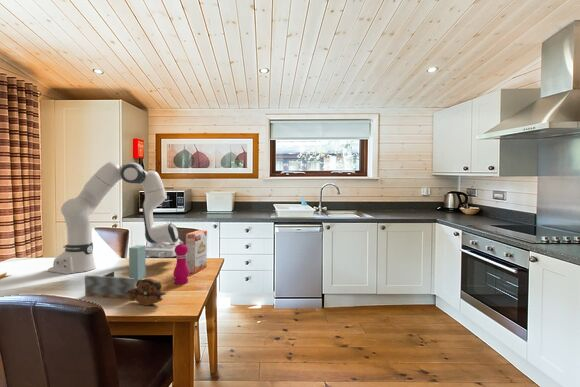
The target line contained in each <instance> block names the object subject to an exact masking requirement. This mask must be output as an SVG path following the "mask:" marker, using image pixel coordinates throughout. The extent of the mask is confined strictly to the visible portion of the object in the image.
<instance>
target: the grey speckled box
mask: <svg viewBox="0 0 580 387" xmlns="http://www.w3.org/2000/svg"><path fill="white" fill-rule="evenodd" d="M136 284H137V281H135V278H129V277H121V276H115V271H112V272H110V273H106V274H104V275H85V276H84V292H85V294H84V296H85V297H90V298H91V297H92V298H93V297H94V298H105V299H107V298H108V299H122V300H130V298H129V296H128V293H127V291H129V290H131V289H133V288H137V286H136Z"/></svg>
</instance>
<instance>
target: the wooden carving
mask: <svg viewBox="0 0 580 387" xmlns="http://www.w3.org/2000/svg"><path fill="white" fill-rule="evenodd" d="M136 286H137V288H133V289H131V290H129V291H127V293H128V296H129V298H130V299H129V301H130V302H135V301H136V302H137V303H138V304H140V305H142V306H144V305H145V306H149V305H153V304H157V303H160V302H161V301H163V300H164V299H163V298H162V296H165V295H167V293H166V292H165V291H162V283H161V281H158V280H157V279H154V278H151V277H150V278H149V277H148V278H145V279H144V278H143V279H140V280H138V281H137V284H136Z"/></svg>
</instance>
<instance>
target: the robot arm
mask: <svg viewBox="0 0 580 387" xmlns="http://www.w3.org/2000/svg"><path fill="white" fill-rule="evenodd" d="M120 180H123V181H124V182H125V183H128V184H138V185H141V187H142V189H143V193H144V200H143V201H142V204H141V205H142V215H143V223H144V237H145V240H146V241H147V242H149V243H150V244H155V245H154V246H145V257H146V256H147V257H156V258H162V259H163V258H173V257H176V255H177V254H176V253H175V247H176V246H177V245H179V242H180V241H181V239H180V238H179V237H180V236H179V235H180V234H179V233H180V232H179V228H178V227H177V226H176V225H175V224H174V223H171V222H170V223H165V224H159V225H155V219H154V214H153V213H154V210H155V208H157V207H158V206H160V205H161V204H163V203H164V202H165V200H166V198H167V192H166V189H165V185H164V183H163V181H162V178H161V176H160V174H159V173H158V171H155V170H149V171H146V170H144V167H143V166H142V164H140V163H138V162H128V163H125V164H122V165H120V164H119V163H116V162H115V161H114V162H113V161H109V162H107V163H105V164H104V165H103V166H101V167H100V168H99V169H98V170H97V171H96V172H95V173H94V174H93V175H92V176H91V178H89V180H87V182H86V183H85V184H84V187H83V188H82V190H81V191H80V193H79V194H78V195H77V196H76V197H73V198H69V199H67V200H66V201H64V202H63V204H62V205H61V207H60V211H61V215H63V217H64V222H65V226H66V230H67V244H65V245H64V246H63V247H62V248H63V249H64V248H65V249H64V251H63V252H62V253H61V254H59V255H58V256H57V257H55V258H54V260H53V264H52V267H50V268H48V269H47V272H50V273H58V274H64V275H68V274H69V275H70V274H73V273H74V274H75V273H82V272H84V273H85V272H88V271H89V272H90V271H92V270H94V269H96V264H95V260H94V255H93V254H94V252H93V249H94V243H93V235H92V234H93V233H92V231H93V229H92V226H91V225H90V224H91V223H90V220H89V219H90V218H89V216H90V215H92V214H93V213H94V211H95V210H96V209H97V207H98V206H99V205H100V204H101V202H102V200H103V199H104V197H105V196H106V195H107V194H108V193H109V192H110V190H111V189H113V187H114V186H115V185H116V183H118V182H119V181H120Z"/></svg>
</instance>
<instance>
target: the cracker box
mask: <svg viewBox="0 0 580 387" xmlns="http://www.w3.org/2000/svg"><path fill="white" fill-rule="evenodd" d="M185 245H186V246H187V248H188V251H187V253H186V254H187V255H186V256H187V257H186V264H187V267H188V269H189V274H196V273H198V272H200V271H202V270H204V269H205V268H207V266H208V265H207V260H208V259H207V258H208V254H207V253H208V252H207V251H208V230H201V229H199V230H195V231H192V232H188V233H186V234H185Z"/></svg>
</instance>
